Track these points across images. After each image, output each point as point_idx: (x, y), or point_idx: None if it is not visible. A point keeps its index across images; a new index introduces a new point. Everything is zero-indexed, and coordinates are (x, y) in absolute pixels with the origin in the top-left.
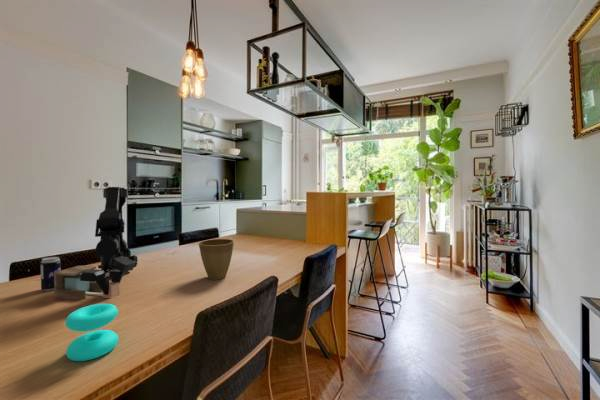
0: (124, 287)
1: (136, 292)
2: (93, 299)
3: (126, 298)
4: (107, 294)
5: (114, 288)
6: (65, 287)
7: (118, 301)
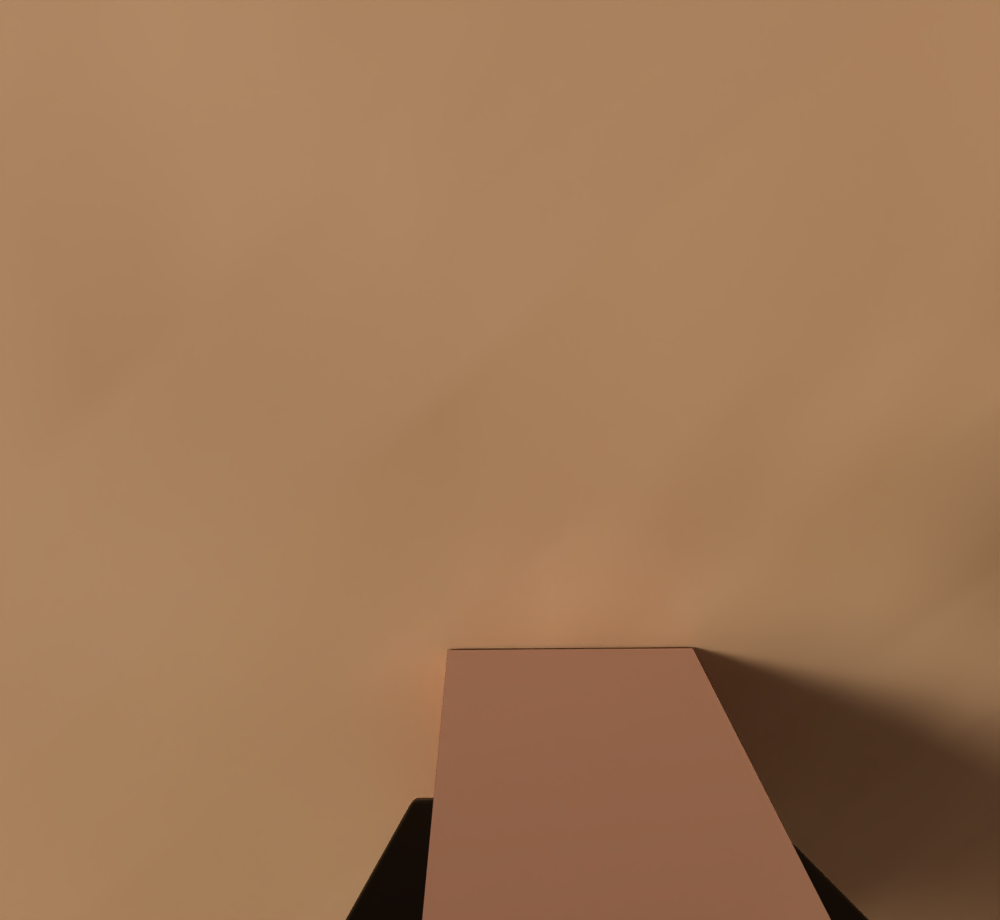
0: (37, 849)
1: (179, 317)
2: None
3: (675, 255)
4: None
5: (657, 856)
6: None
7: (903, 318)
